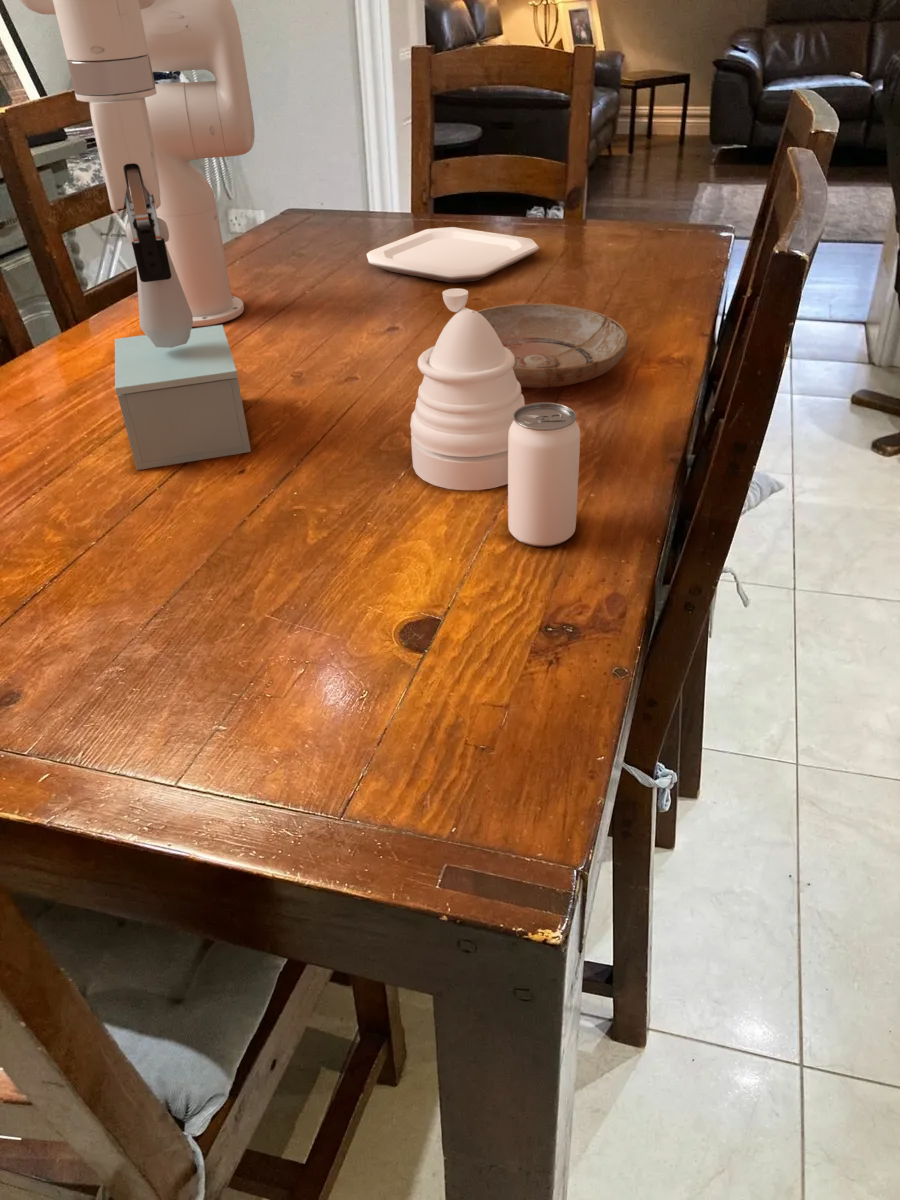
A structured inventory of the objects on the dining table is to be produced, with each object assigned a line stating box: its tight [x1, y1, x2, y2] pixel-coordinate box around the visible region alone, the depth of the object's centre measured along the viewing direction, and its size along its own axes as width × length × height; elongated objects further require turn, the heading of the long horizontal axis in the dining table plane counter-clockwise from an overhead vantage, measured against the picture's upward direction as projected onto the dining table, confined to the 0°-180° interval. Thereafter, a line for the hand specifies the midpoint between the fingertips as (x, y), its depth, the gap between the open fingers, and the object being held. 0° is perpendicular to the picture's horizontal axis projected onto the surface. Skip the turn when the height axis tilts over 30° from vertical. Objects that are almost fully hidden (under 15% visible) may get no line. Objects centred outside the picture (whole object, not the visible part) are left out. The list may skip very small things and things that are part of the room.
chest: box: [117, 377, 252, 471], centre depth 108 cm, size 16×13×9 cm
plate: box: [366, 226, 540, 284], centre depth 163 cm, size 25×25×2 cm
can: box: [507, 402, 581, 548], centre depth 86 cm, size 6×6×12 cm
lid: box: [114, 324, 239, 396], centre depth 105 cm, size 16×13×1 cm
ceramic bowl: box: [475, 303, 629, 389], centre depth 121 cm, size 23×24×5 cm
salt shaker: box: [125, 217, 193, 348], centre depth 101 cm, size 6×6×13 cm
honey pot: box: [409, 288, 526, 491], centre depth 97 cm, size 13×13×18 cm
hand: (155, 271), depth 100 cm, fingers closed on salt shaker, 4 cm apart
